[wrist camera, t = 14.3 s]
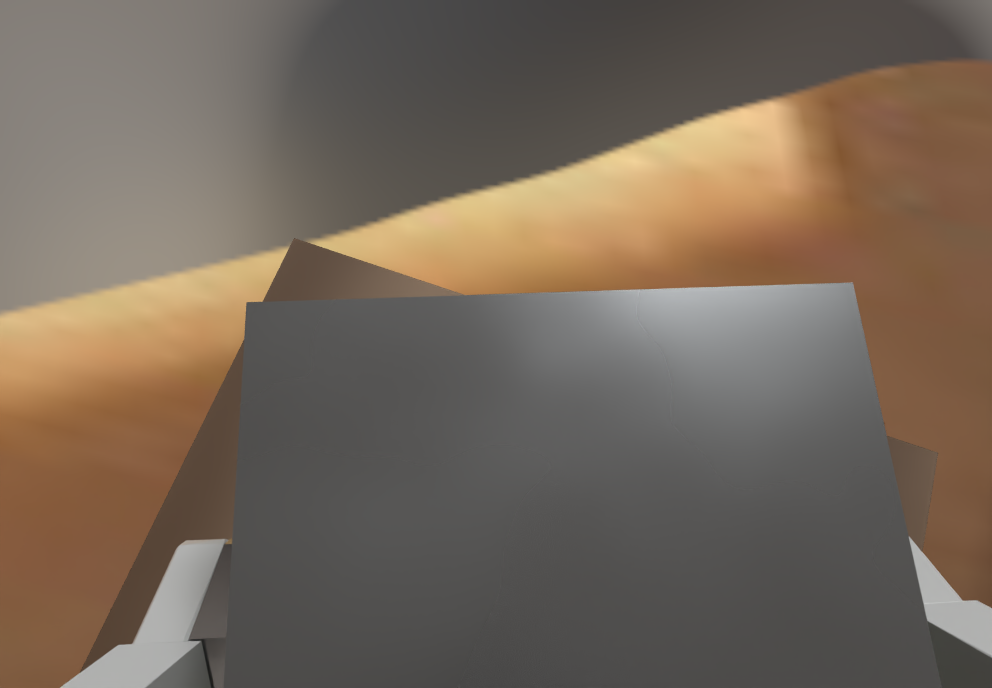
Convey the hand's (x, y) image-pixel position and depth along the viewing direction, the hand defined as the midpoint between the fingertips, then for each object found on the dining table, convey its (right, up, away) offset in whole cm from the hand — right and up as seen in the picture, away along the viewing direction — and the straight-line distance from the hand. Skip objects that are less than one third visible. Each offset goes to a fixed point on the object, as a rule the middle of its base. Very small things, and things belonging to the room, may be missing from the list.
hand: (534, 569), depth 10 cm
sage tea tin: (0, -3, +6) cm, 6 cm away
